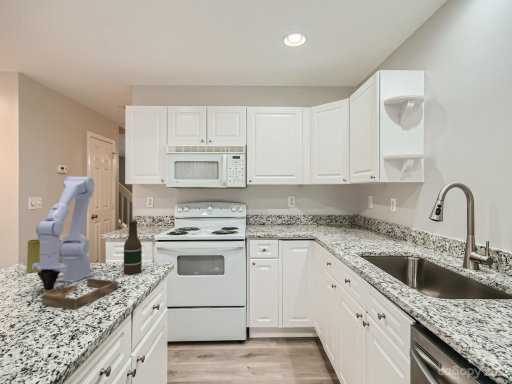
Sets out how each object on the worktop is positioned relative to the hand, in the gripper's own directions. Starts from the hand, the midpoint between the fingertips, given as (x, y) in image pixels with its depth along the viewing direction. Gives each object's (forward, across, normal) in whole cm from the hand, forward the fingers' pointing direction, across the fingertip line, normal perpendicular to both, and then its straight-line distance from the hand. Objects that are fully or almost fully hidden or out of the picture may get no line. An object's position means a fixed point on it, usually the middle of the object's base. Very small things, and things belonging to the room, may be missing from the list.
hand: (49, 289), depth 97 cm
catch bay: (+1, +15, 0) cm, 15 cm away
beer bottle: (+1, +13, +28) cm, 31 cm away
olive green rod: (+1, -32, +18) cm, 37 cm away
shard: (+2, +4, 0) cm, 4 cm away
